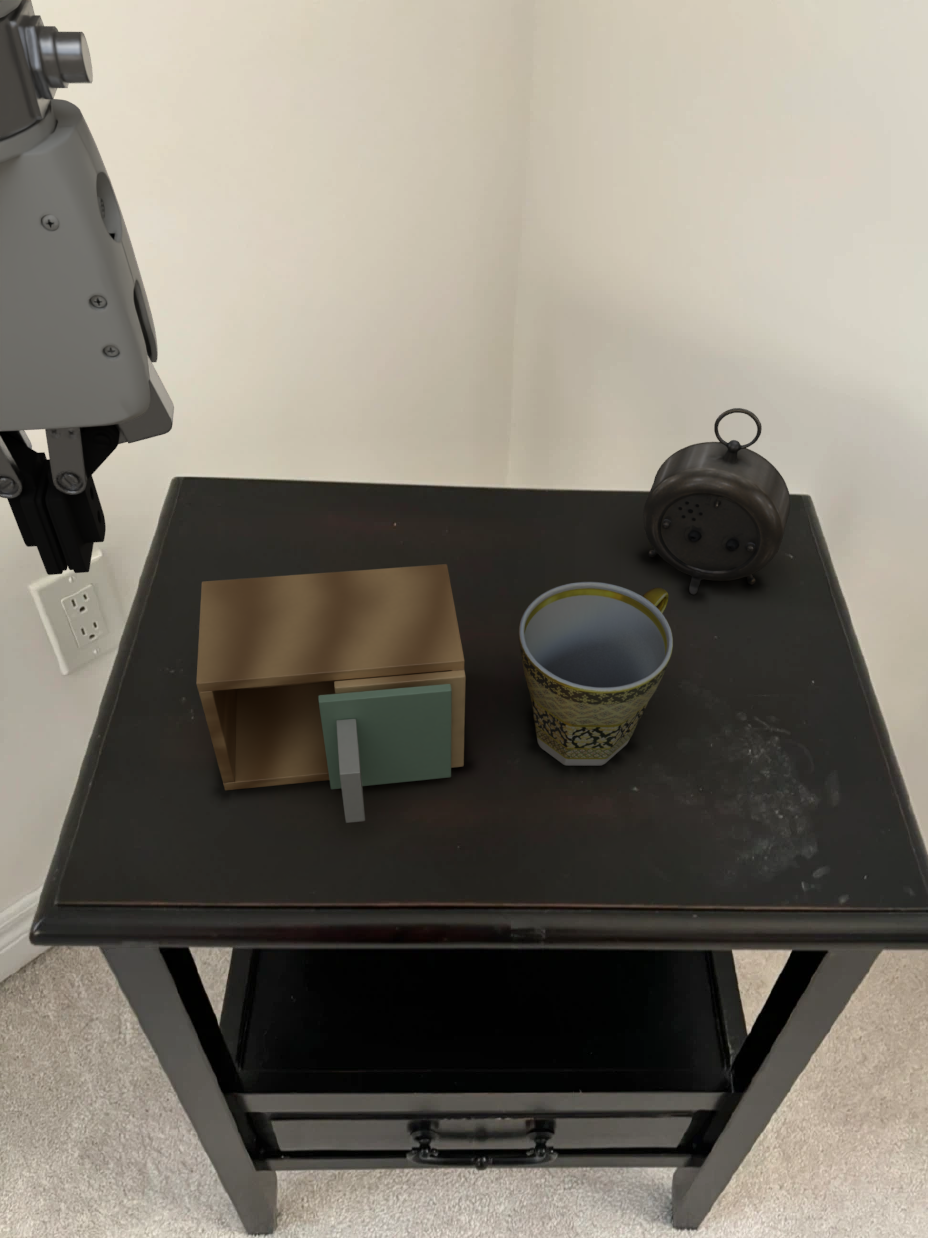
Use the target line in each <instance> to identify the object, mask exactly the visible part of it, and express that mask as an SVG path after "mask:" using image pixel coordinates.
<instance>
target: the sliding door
mask: <svg viewBox="0 0 928 1238" xmlns="http://www.w3.org/2000/svg"><path fill="white" fill-rule="evenodd" d="M318 698H319V708H320V715H321V722H322V730H323V737H324V744H325V751H326V758H327V766H328V773H329V780H328V781H329V786H330V787H329V788H330V790H339V789H341V796H342V803H343V811H344V812H343V813H344V819H345V823H346V824H347V823H349V824H350V823H358V822H359V823H360V822H365V821H366V813H365V801H364V789H363V787H367V786H376V785H377V786H378V785H388V784H398V783H407V782H409V783H410V782H416V781H417V782H418V781H426V780H427V781H428V780H436V779H437V780H439V779H446V778H447V779H448V778H451V777H452V768H451V704H452V690H451V685H450V684H442V685H430V686H419V687H408V688H396V689H385V690H374V691H362V692H351V693H340V694H329V695H319V696H318Z"/></svg>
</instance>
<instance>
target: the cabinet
mask: <svg viewBox="0 0 928 1238" xmlns="http://www.w3.org/2000/svg"><path fill="white" fill-rule="evenodd" d="M457 617H458V616H457V611H456V606H455V600H454V594H453V589H452V584H451V578H450V573H449V567H448V564H447V563H444V564H429V565H416V566H415V565H414V566H402V567H401V566H399V567H389V568H388V567H387V568H373V569H358V570H345V571H332V572H331V571H329V572H319V573H318V572H317V573H303V574H289V575H288V574H287V575H276V576H275V575H273V576H261V577H260V576H259V577H248V578H247V577H246V578H233V579H220V580H208V581H207V580H205V581H201V591H200V607H199V625H198V626H199V627H198V630H199V631H198V644H197V645H198V646H197V662H196V668H197V669H196V687H197V692H198V694H199V699H200V702H201V705H202V710H203V712H204V717H205V721H206V725H207V728H208V732H209V736H210V739H211V743H212V747H213V751H214V755H215V759H216V763H217V766H218V770H219V774H220V777H221V780H222V785H223V788H224V791H233V790H243V789H254V788H264V787H273V786H283V785H284V786H285V785H293V784H303V783H304V784H305V783H313V782H323V781H330V780H329V773H328V766H327V758H326V751H325V744H324V737H323V730H322V722H321V715H320V708H319V698H318V696H319V695H329V694H340V693H351V692H362V691H374V690H385V689H396V688H408V687H419V686H430V685H442V684H450V685H451V690H452V704H451V769H452V768H453V769H454V768H463V767H464V765H465V727H466V726H465V721H466V680H467V677H466V670H465V656H464V649H463V645H462V639H461V633H460V628H459V623H458V618H457Z"/></svg>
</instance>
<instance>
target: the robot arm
mask: <svg viewBox="0 0 928 1238" xmlns="http://www.w3.org/2000/svg"><path fill="white" fill-rule="evenodd" d="M92 64H93V63H92V57H91V53H90V47H89V44H88V41H87V38H86V35H85V33H84V32H83V31H59V30H58V28H57V27H56V26H55V25H49V26H48V25H44V22H43V19H42V17H41V14H40V15H39V14H38V15H36V14H35V10H34V5H33V3H32V0H0V498H1V499H7V502H8V504H9V508H10V509H11V512H12V515H13V517H14V520H15V522H16V525H17V527H18V530H19V532H20V535H21V538H22V540H23V542H24V545H25V546H26V547H28V548H31V547H36V549H37V551H38V553H39V556H40V559H41V562H42V565H43V567H44V570H45V572H46V574H47V576H54V575H63V572H64V571H65V572H66V571H67V570H69V571H73V572H74V573H75V574H81V573H82V574H83V573H89V572H90V569H91V562H92V555H93V550H94V543H95V544H96V543H103V542H105V537H106V527H107V526H106V525H107V524H106V519H105V514H104V510H103V508H102V504H101V501H100V497H99V494H98V491H97V488H96V483H95V481H94V477H93V474H94V473H95V472H96V471H97V470H98V469H99V468H100V467H101V465H103V463H104V462H105V461H106V460H107V459H108V458H109V456H111V455H112V453H113V452H114V451H115V450H116V449H117V447H118V446H119V445H121V444H125V443H127V444H132V443H133V444H134V443H136V442H140V441H144V440H148V439H151V438H155V437H159V436H163V435H166V434H168V433H170V431H171V430H172V429H173V422H174V413H175V406H174V402H173V400H172V399H171V396H170V394H169V393H168V390H167V389H166V387H165V385H164V383H163V381H162V379H161V378H160V375H159V373H158V371H157V369H156V368H155V365H154V364H153V363H157V361H158V354H159V353H158V351H159V350H158V349H159V348H158V340H157V333H156V328H155V327H156V326H155V322H154V318H153V314H152V310H151V307H150V302H149V300H148V295H147V291H146V288H145V284H144V281H143V278H142V274H141V271H140V268H139V264H138V261H137V258H136V253H135V251H134V247H133V243H132V241H131V237H130V235H129V232H128V228H127V225H126V222H125V219H124V216H123V213H122V209H121V206H120V203H119V201H118V198H117V195H116V192H115V190H114V187H113V183H112V181H111V178H110V176H109V173H108V170H107V168H106V166H105V163H104V160H103V158H102V156H101V153H100V150H99V147H98V145H97V143H96V141H95V138H94V136H93V134H92V132H91V130H90V127H89V126H88V123H87V120H86V119H85V117H84V115H83V113H82V110H81V109H80V108H79V107H78V106H77V105H76V104H74V103H72V102H71V101H68V100H65V99H60V98H55V96H56V93H57V91H58V89H68V88H69V85H70V84H93V81H94V79H93V78H94V74H93V73H94V72H93V65H92ZM35 430H45V431H44V432H45V437H46V444H47V451H48V459H47V456H46V452H45V451H42V452H38V451H36V450H35V449H33V445H32V442H31V440H30V438H29V436H28V434H27V433H26V431H35Z"/></svg>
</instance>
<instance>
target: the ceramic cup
mask: <svg viewBox="0 0 928 1238" xmlns="http://www.w3.org/2000/svg"><path fill="white" fill-rule="evenodd" d="M668 603H669V593H668V591H667V590H666V589H664V588H663V587H660V586H659V587H654V588H651V589H649V590H648V591H646V592H645V593H644V594H643V595H640V594H639V593H638V592H635V591H633V590H631V589H629V588H625V587H623V586H619V585H616V584H611V583H607V582H600V581H599V582H598V581H578V582H570V583H565V584H561V585H557V586H555V587H553V588H550V589H548V590H546V591H544V592H542V593H541V594H539V595H538V596H537V597H536V598H534V599H533V600H532V601H531V602H530V603H529V604H528V605H527V606H526V608H525V609H524V611H523V613H522V615H521V618H520V620H519V624H518V642H519V650H520V651H519V652H520V658H521V663H522V668H523V669H522V670H523V673H524V678H525V681H526V686H527V688H528V692H529V695H530V702H531V708H532V715H533V721H534V727H535V728H534V729H535V736H536V741H537V742H536V743H537V744H538V746H539V748H541V749H542V750H543V751H545V752H546V753H547V754H549V755H550V756H551V757H553V758H554V759H555V760H557V762H559V763H561V764H562V765H564V766H567V767H568V766H569V767H571V766H573V767H574V766H577V767H578V766H580V767H581V766H582V767H583V766H584V767H585V766H587V767H588V766H593V767H596V766H604V765H605V764H607V763H608V762H609V761H610V760H611V759H612V758H614V757H615V756H616V754H618V753H619V752H620V751H621V750H622V749H624V748H625V747H626V746H627V745H628V743H629V742H630V739H631V738H632V736H633V734H634V732H635V730H636V728H637V726H638V724H639V723H640V720H641V718H642V717H643V714H644V712H645V710H646V709H647V706H648V704H649V701H650V700H651V698H652V697H653V696H654V694H655V693H656V691H657V689H658V686H659V685H660V682H661V680H662V679H663V677H664V675H665V672H666V670H667V668H668V665H669V663H670V660H671V658H672V654H673V649H674V638H673V637H674V636H673V632H672V628H671V626H670V624H669V622H668V620H667V618H666V617H665V615H664V612H665V610H666V608H667V605H668Z"/></svg>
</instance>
